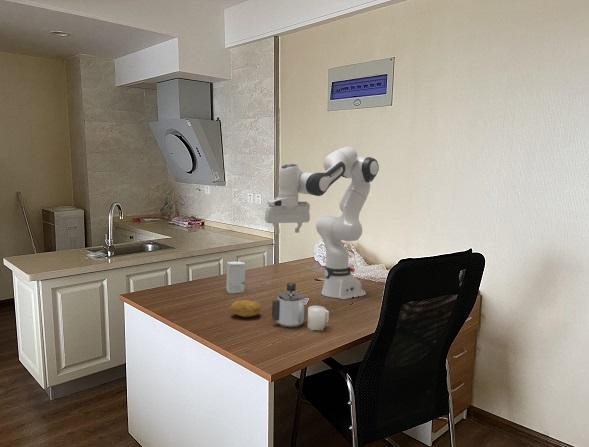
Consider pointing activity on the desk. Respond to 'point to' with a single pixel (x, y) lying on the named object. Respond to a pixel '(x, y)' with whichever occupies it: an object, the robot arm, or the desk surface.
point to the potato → (246, 308)
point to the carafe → (288, 309)
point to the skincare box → (235, 277)
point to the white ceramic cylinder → (317, 317)
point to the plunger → (291, 288)
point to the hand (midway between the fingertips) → (287, 232)
